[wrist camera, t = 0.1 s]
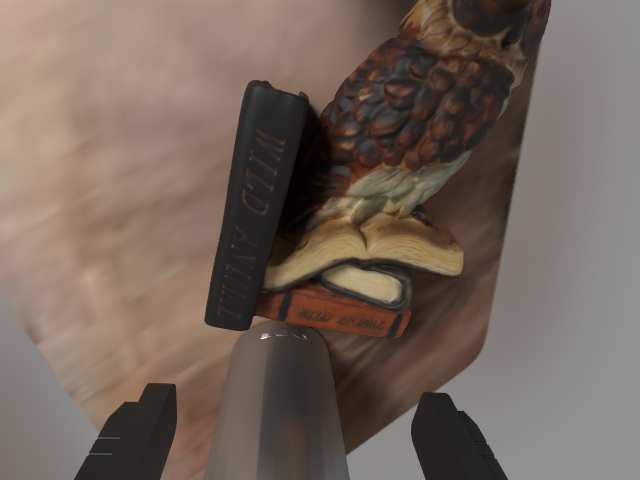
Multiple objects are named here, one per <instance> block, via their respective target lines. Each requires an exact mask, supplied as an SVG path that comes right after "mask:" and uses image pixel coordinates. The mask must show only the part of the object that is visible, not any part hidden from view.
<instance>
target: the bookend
mask: <svg viewBox="0 0 640 480" xmlns="http://www.w3.org/2000/svg"><path fill="white" fill-rule="evenodd" d="M550 7H551V0H418V1H417V3H416V4H415V5H414V7H413V8H412V9H411V10H410V12H409V13H408V14H407V15H406V16H405V17H404V18H403V20H402V21H401V23H400V26H399V30H400V35H399V36H398V37H397V38H392V39H389V40H387V41H386V42H385V43H383V44H382V45H381V46H379V47H378V48H377V49H375V50H374V51H373V52H372V53H371V54H370V55H369V58H368V59H366V60H365V61H364V62H362V63H361V65H360V66H359V67H358V68H357V69H356V70H355V71H354V72H353V73H352V74H351V75H350V76H349V77H347V78H346V80H345V81H344V82H343V83H342V85H341V86H340V87H339V89H338V91H337V93H336V95H335V98H334V100H333V101H332V102H330V103H329V104H328V105H327V106H326V108H325V109H324V110H323V112H322V113H321V116H320V119H319V122H318V125H317V128H316V133H315V138H314V141H313V144H312V146H311V147H310V149H309V151H308V152H307V153H306V154H305V155H304V156H303V157H302V158H301V159H300V160H299V161H298V165H299V167H298V171H297V174H296V176H295V177H294V178H293V179H292V180H291V176H292V172H293V168H294V164H295V160H296V156H297V153H298V149H299V145H300V142H301V138H302V134H303V130H304V125H305V121H306V117H307V112H308V106H309V99H308V96H307V95H306V94H305V93H303V92H300V93H298V94H297V95H295V94H291V93H288V92H284V91H281V90H279V89H276V88H274V87H272V86H271V84H270V83H269V82H268V81H263V82H262V81H260V80H253V81H251V82H249V83H248V85H247V87H246V90H245V93H244V97H243V101H242V106H241V111H240V116H239V122H238V129H237V134H236V140H235V146H234V152H233V158H232V164H231V170H230V176H229V183H228V190H227V198H226V204H225V211H224V217H223V223H222V229H221V234H220V238H219V243H218V248H217V252H216V257H215V262H214V266H213V271H212V277H211V282H210V289H209V295H208V300H207V306H206V312H205V319H204V321H205V323H206V324H207V325H210V326H213V327H218V328H223V329H229V330H235V331H245V330H248V329H249V328H250V326H251V323H252V319H253V316H260V317H264V318H268V319H272V320H277V321H282V322H287V323H292V324H297V325H303V326H309V327H316V328H321V329H327V330H334V331H339V332H346V333H352V334H359V335H367V336H376V337H387V338H394V339H396V338H398V337H400V336H401V335H402V333H403V331H404V329H405V328H406V326H407V325H408V322H409V319H410V316H411V304H410V301H411V298H412V294H413V290H414V285H415V275H416V274H419V273H426V274H432V275H437V274H442V275H449V276H451V277H453V278H457V279H459V278H461V276H462V273H461V272H462V269H463V263H464V261H463V258H464V252H463V250H462V248H461V246H460V245H459V243H458V241H457V240H456V239H455V238H454V236H453V234H452V233H451V232H450V231H449V230H448V229H447V228H446V227H445V226H443V225H442V224H441V223H440V222H439V221H437V220H436V219H435V218H434V217H432V216H430V215H429V214H428V212H427V211H426V209H425V208H424V207H422V206H420V205H419V204H423V203H424V202H425V201H426V200H427V199H428V198H429V197H430V196H432V195H434V194H435V193H437V192H438V191H439V190H440V189H441V188H442V187H443V186H444V184H445V183H446V182H447V180H448V179H449V178H450V177H451V176H452V174H454V173H456V172H457V171H458V170H459V169H460V168H461V167H462V166H463V165H464V163H465V162H466V161H467V159H468V158H469V156H470V154H471V150H472V149H473V148H474V147H475V146H477V144H479V142H480V141H481V140H483V138H484V137H485V136H486V133H487V130H488V129H490V128H492V127H493V126H494V124H495V123H496V121H497V120H498V119H499V118H500V116H501V115H502V114H503V113H504V111H505V110H506V108H507V106H508V103H509V98H510V94H511V91H512V89H513V88H514V87H516V86H519V85H520V83H521V82H522V79H523V75H524V71H525V68H526V67H527V65H528V63H529V61H530V56H531V54H532V53H533V52H534V51H535V49H536V48H537V46H538V44H539V42H540V41H541V39H542V36H543V34H544V31H545V28H546V25H547V22H548V17H549V13H550Z"/></svg>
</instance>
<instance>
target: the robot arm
mask: <svg viewBox="0 0 640 480" xmlns="http://www.w3.org/2000/svg"><path fill="white" fill-rule="evenodd" d="M176 424H177V405H176V385H175V384H167V383H148V384H147V386H146V387H145V389H144V391H143V393H142V395H141V397H140V399H139V401H138V402H124V403H123V404H122V405H121V406H120V407H119V408H118V409H117V410H116V411H115V412H114V413H113V414H112V415H111V416H110V417H109V418H108V419H107V421H106V423H105V425H104V427H103V428H102V430H101V432H100V434H99V436H98V439H97V440H96V441H95V443H94V445H93V446H92V448H91V450H90V452H89V456H87V457H86V459H85V461H84V463H83V465H82V466H81V468H80V470H79V471H78V473H77V475H76V477H75V479H74V480H160V478H161V475H162V472H163V469H164V466H165V463H166V460H167V457H168V454H169V451H170V448H171V445H172V442H173V439H174V435H175V430H176ZM411 436H412V441H413V445H414V447H415V450H416V453H417V456H418V459H419V462H420V465H421V467H422V470H423V473H424V476H425V479H426V480H508V479H507V477H506V475H505V474H504V472H503V470H502V468H501V466H500V465H499V463H498V461H497V459H495V458H494V454H493V452H492V450H491V449H490V447H489V445H487V443H486V440H485V438H484V436H483V434H482V433H481V431H480V429H479V427H478V426H477V424H476V423H475V422H474V421H473V420H472V419H471V418H470V417H469V416H468V415H467V414H466V413H465V412H464V411H457V409H456V407H455V405H454V403H453V401H452V399H451V398H450V396H449V395H448V394H446V393H432V392H424V393H423V394H422V396H421V398H420V401H419V404H418V407H417V410H416V413H415V415H414V418H413V421H412V425H411ZM203 480H350V478H349V472H348V466H347V460H346V454H345V448H344V441H343V435H342V429H341V423H340V417H339V411H338V405H337V399H336V393H335V387H334V380H333V374H332V368H331V362H330V356H329V351H328V348H327V345H326V343H325V341H324V340H323V338H322V337H321V336H320V335H319V334H318V333H317V332H316V331H315V330H313V329H312V328H310V327H308V326H303V325H297V324H292V323H287V322H282V321H277V320H275V321H270V322H265V323H262V324H260V325H257V326H255V327H253V328H251V329H250V330H248V331H247V332H245V333H244V334H243V335H242V336H241V337H240V338H239V340H238V341H237V343H236V344H235V346H234V348H233V351H232V355H231V359H230V363H229V368H228V372H227V376H226V381H225V385H224V388H223V393H222V397H221V402H220V406H219V410H218V415H217V419H216V424H215V428H214V432H213V437H212V441H211V446H210V450H209V454H208V459H207V463H206V468H205V472H204V476H203Z"/></svg>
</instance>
